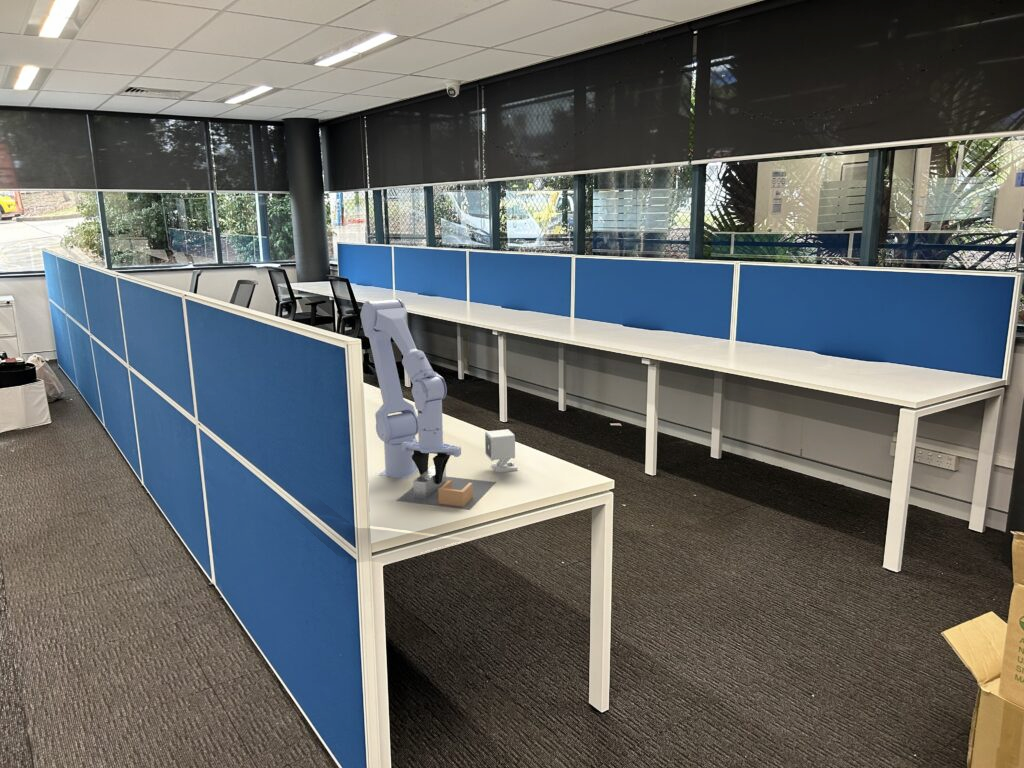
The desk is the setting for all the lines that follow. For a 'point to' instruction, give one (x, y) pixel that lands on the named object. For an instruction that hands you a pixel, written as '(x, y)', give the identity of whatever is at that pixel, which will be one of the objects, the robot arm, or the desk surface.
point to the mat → (457, 483)
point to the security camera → (501, 449)
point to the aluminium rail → (427, 483)
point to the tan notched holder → (455, 494)
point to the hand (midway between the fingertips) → (432, 482)
